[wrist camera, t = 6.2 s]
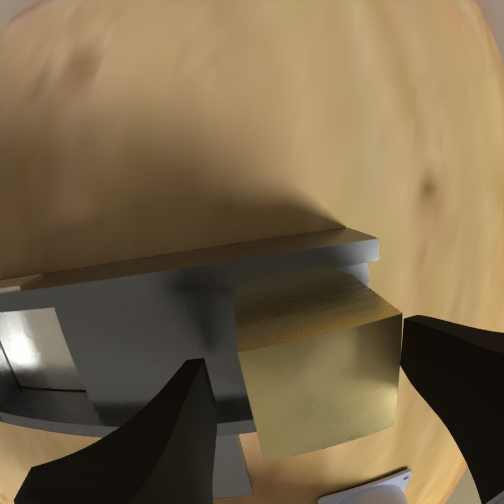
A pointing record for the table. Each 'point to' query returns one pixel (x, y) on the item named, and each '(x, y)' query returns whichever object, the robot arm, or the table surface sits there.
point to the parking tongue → (230, 469)
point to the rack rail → (148, 328)
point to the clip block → (318, 364)
